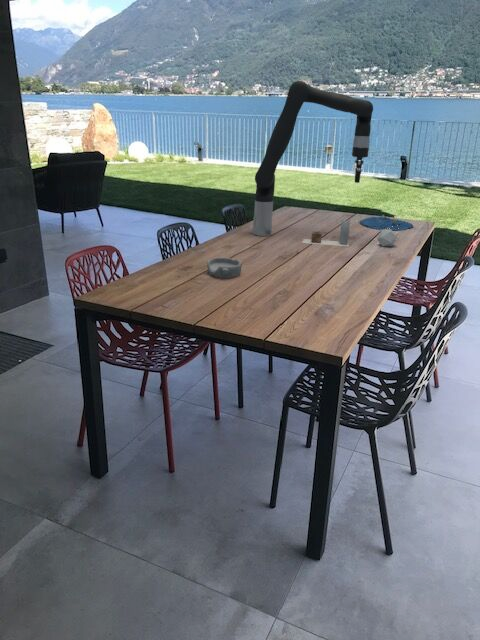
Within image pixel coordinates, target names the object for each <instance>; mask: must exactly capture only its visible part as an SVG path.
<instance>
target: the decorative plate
mask: <svg viewBox="0 0 480 640" xmlns="http://www.w3.org/2000/svg"><path fill="white" fill-rule="evenodd" d="M359 224H361V225H362V226H365V227H368V228H369V229H371V230H380V231H381V230H390V229H391V230H392V231H402V230H405V231H406V230H408V229H409V228H413V227H414V225H413V223H410V222H408V221H405V220H400V219H397V218H391V217H387V216H385V214H384V215H383V214H382V215H381V216H370V217H367V218H364V219H360V220H359ZM399 224H400V225H399ZM397 225H398V227H397ZM392 226H393V227H392ZM384 227H385V228H384ZM387 228H388V229H387ZM389 228H390V229H389ZM398 228H399V229H398Z"/></svg>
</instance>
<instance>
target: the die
mask: <svg viewBox="0 0 480 640" xmlns="http://www.w3.org/2000/svg"><path fill="white" fill-rule="evenodd" d="M397 239H398V235H396V234H395V232H394V230H391V229H390V230H386V229H385V230H380V232H379V235H378V236H377V238H376V240H377V241H378V242H379V244H380V245H381V247H393V245H395V242H396V240H397Z"/></svg>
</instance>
